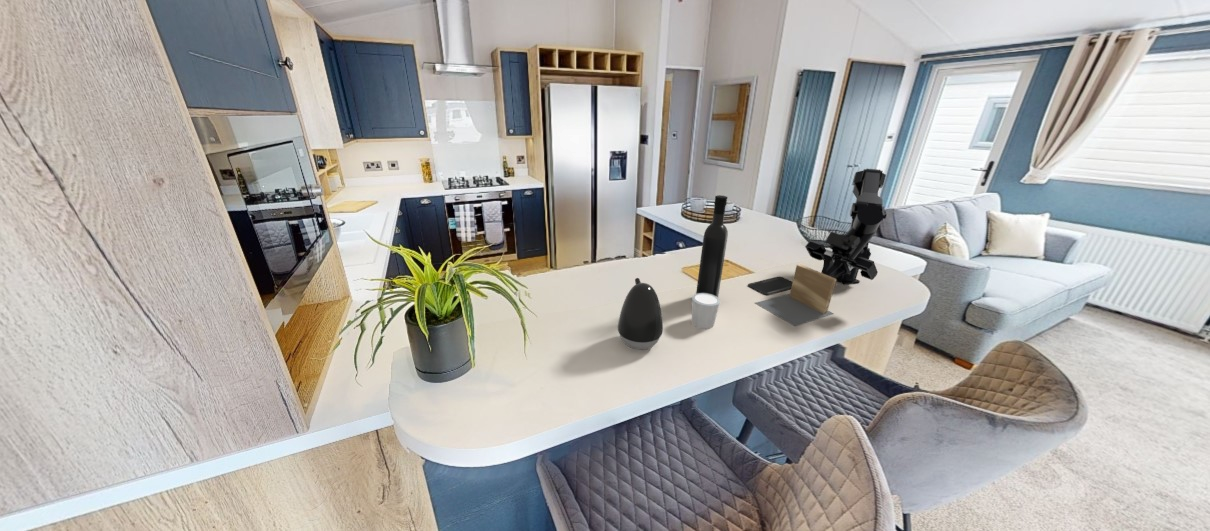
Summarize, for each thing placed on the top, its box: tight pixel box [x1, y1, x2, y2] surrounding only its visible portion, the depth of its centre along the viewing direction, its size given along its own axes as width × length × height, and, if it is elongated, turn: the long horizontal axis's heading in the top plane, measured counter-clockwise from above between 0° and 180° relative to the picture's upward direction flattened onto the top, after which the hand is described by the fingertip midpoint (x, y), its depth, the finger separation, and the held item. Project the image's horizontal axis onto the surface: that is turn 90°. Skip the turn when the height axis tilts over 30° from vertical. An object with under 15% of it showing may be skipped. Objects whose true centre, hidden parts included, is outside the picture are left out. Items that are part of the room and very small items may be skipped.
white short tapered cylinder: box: [691, 293, 721, 330], centre depth 97 cm, size 7×7×7 cm
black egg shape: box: [617, 277, 664, 351], centre depth 87 cm, size 10×10×15 cm
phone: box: [747, 276, 793, 296], centre depth 120 cm, size 8×1×15 cm
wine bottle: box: [695, 195, 729, 298], centre depth 104 cm, size 6×6×30 cm
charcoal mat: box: [754, 293, 835, 327], centre depth 107 cm, size 16×14×1 cm
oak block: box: [789, 263, 837, 314], centre depth 107 cm, size 2×11×10 cm, turn 27°
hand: (820, 281), depth 108 cm, fingers closed
